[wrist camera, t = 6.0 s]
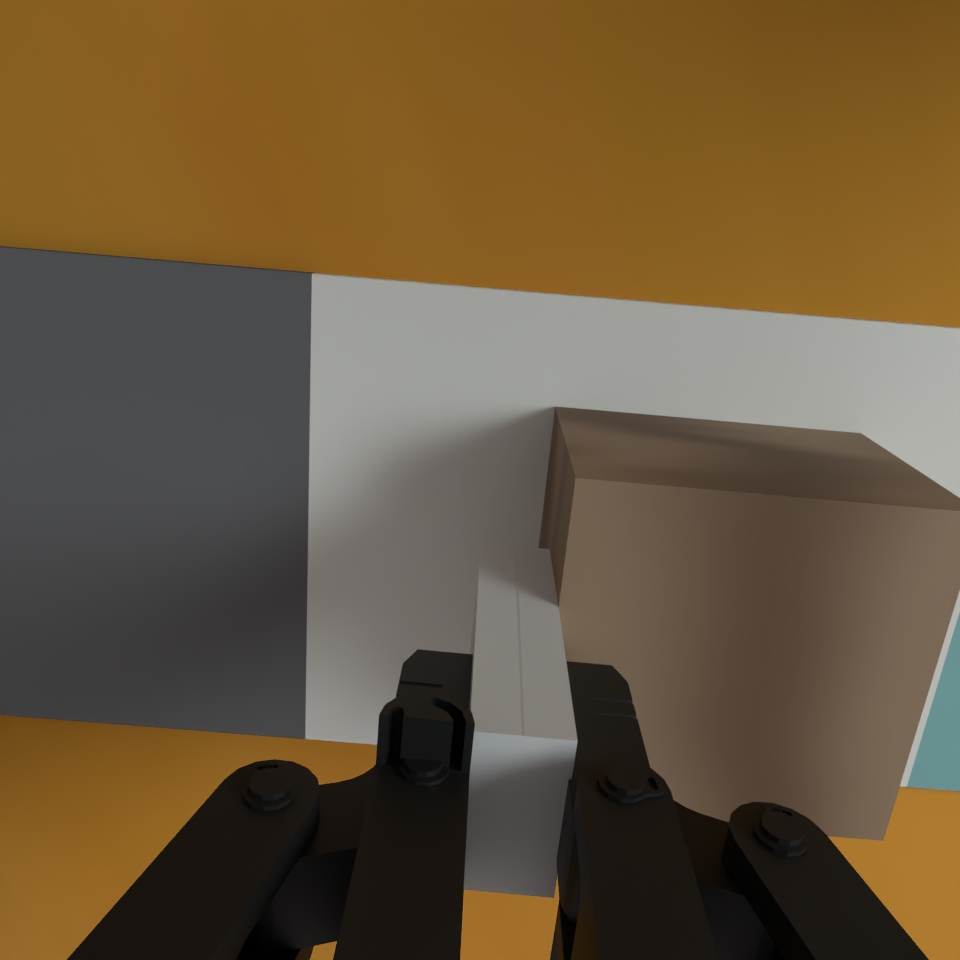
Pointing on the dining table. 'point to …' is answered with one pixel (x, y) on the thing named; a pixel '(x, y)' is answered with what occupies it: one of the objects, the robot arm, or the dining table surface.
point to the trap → (154, 492)
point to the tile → (543, 440)
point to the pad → (942, 729)
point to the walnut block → (755, 603)
